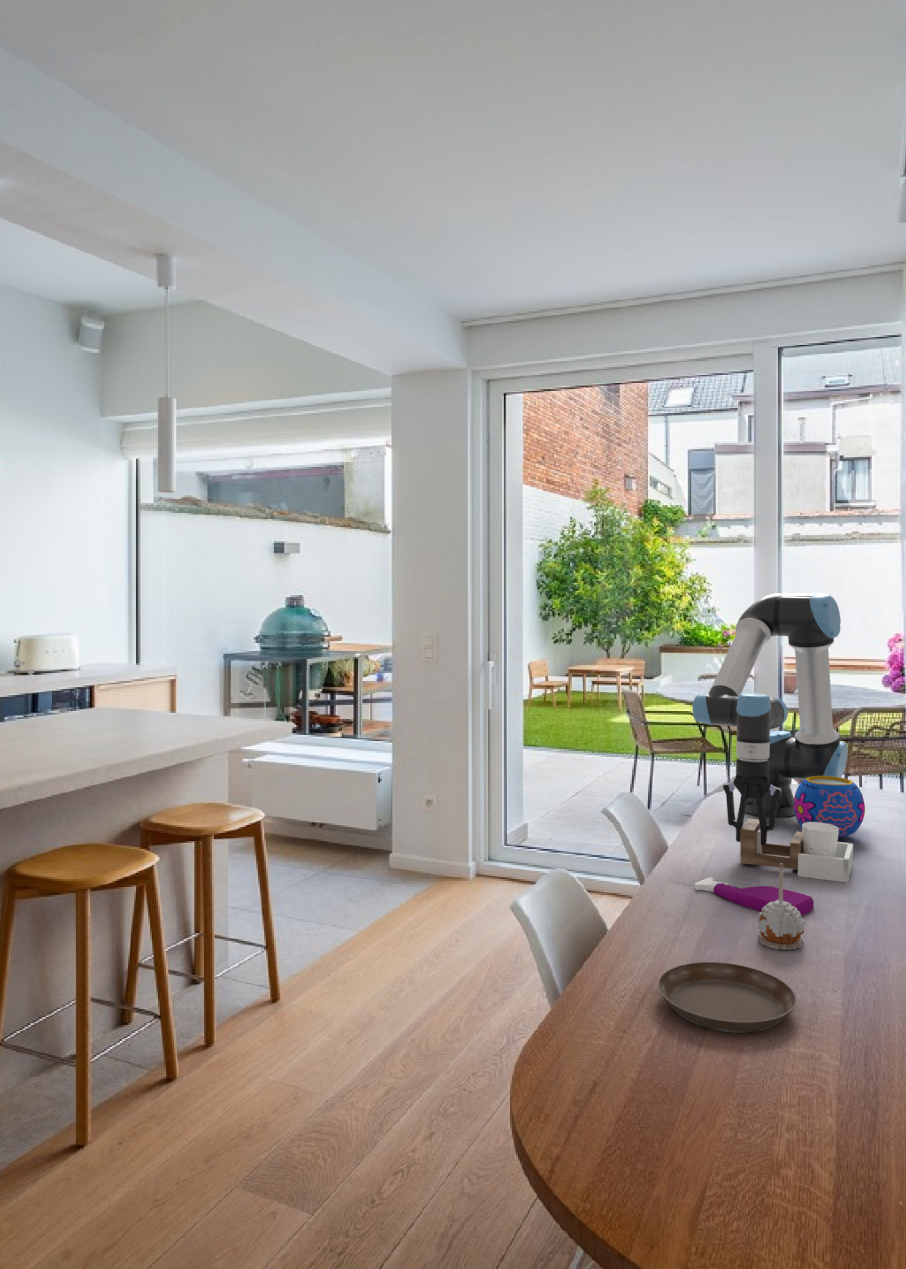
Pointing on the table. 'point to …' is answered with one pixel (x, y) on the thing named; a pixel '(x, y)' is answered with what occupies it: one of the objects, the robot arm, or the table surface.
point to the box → (828, 864)
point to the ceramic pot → (830, 803)
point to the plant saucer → (727, 996)
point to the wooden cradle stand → (768, 848)
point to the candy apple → (780, 923)
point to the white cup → (819, 839)
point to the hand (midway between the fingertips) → (750, 856)
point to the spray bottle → (756, 895)
